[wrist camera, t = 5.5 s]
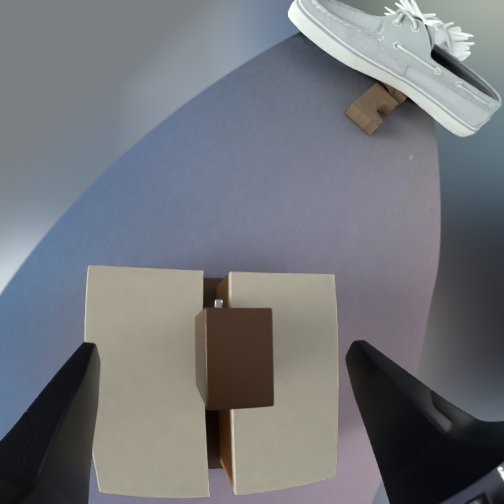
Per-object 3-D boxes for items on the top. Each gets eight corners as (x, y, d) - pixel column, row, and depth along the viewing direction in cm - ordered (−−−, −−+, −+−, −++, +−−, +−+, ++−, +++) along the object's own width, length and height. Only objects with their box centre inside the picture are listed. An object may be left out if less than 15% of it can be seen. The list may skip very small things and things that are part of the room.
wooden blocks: (391, 122, 23) (325, 66, 23) (373, 140, 26) (312, 87, 26) (446, 52, 34) (411, 21, 34) (436, 62, 36) (402, 32, 36)
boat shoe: (272, 30, 24) (304, -38, 16) (300, 5, 27) (328, -47, 19) (468, 165, 27) (522, 130, 19) (465, 120, 30) (507, 86, 22)
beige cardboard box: (300, 455, 17) (337, 484, 12) (115, 462, 14) (99, 500, 9) (297, 281, 20) (336, 264, 15) (108, 274, 17) (86, 253, 13)
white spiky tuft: (456, 102, 29) (494, 64, 21) (378, 58, 28) (411, 7, 20) (440, 57, 33) (468, 23, 25) (372, 20, 31) (396, -22, 24)
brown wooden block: (224, 382, 17) (275, 428, 8) (189, 383, 16) (207, 433, 8) (223, 309, 18) (272, 284, 9) (188, 308, 18) (204, 282, 9)
